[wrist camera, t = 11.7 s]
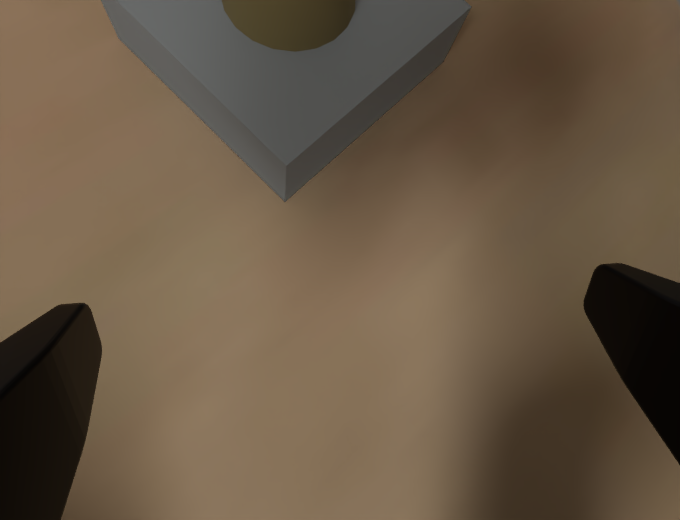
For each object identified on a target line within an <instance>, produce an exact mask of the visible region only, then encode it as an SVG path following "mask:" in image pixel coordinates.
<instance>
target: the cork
mask: <svg viewBox="0 0 680 520" xmlns="http://www.w3.org/2000/svg"><path fill="white" fill-rule="evenodd" d="M222 3H223V7H224V11H225V12H226V14H227V15H228V17H229V18H230V20H231V21H232V23H233V24H234V26H235V27H236V28H237V29H238V30H240V31H241V32H242V33H243V34H245V35H246V36H247V37H248V38H250V39H251V40H252V41H255V42H257V43H259V44H262V45H264V46H267V47H269V48H272V49H277V50H285V51H293V52H297V51H303V50H310V49H316V48H318V47H321V46H323V45H325V44H327V43H329V42H331V41H333V40H335V39H336V38H337V37H338V36H339V35H340V34H341V33H342V32H343V31H344V30H345V29H346V28H347V27H348V25H349V23H350V21H351V18H352V16H353V14H354V12H355V0H222Z"/></svg>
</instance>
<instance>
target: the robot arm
mask: <svg viewBox="0 0 680 520" xmlns="http://www.w3.org/2000/svg"><path fill="white" fill-rule="evenodd" d="M583 305H584V310H585V313H586V315H587V317H588V319H589V321H590V323H591V325H592V326H593V328H594V330H595V332H596V334H597V335H598V337H599V339H600V341H601V343H602V345H603V346H604V348H605V350H606V352H607V354H608V356H609V357H610V359H611V361H612V363H613V365H614V367H615V368H616V370H617V372H618V374H619V375H620V377H621V379H622V380H623V382H624V384H625V385H626V387H627V388H628V390H629V391H630V393H631V394H632V396H633V397H634V399H635V400H636V402H637V403H638V404H639V406H640V407H641V409H642V410H643V412H644V413H645V415H646V416H647V418H648V419H649V421H650V422H651V424H652V425H653V426H654V428H655V429H656V431H657V432H658V434H659V435H660V437H661V438H662V440H663V441H664V443H665V444H666V446H667V447H668V448H669V450H670V451H671V453H672V454H673V456H674V457H675V459H676V460H677V462H678V463H679V465H680V283H678V282H675V281H672V280H669V279H666V278H663V277H660V276H657V275H655V274H652V273H649V272H646V271H643V270H640V269H637V268H634V267H631V266H628V265H625V264H622V263H612V264H601V265H599V266H597V267H596V269H595V270H594V272H593V275H592V278H591V281H590V283H589V286H588V289H587V292H586V295H585V298H584V304H583ZM101 356H102V345H101V340H100V337H99V334H98V331H97V327H96V324H95V321H94V318H93V315H92V311H91V309H90V307H89V306H88V305H87V304H85V303H72V304H61V305H58V306H56V307H54V308H53V309H51V310H50V311H48V312H47V313H45V314H44V315H42V316H40V317H39V318H37V319H36V320H34V321H33V322H31V323H30V324H28V325H27V326H25V327H24V328H22V329H20V330H19V331H17V332H16V333H14V334H13V335H11V336H10V337H8V338H7V339H5V340H4V341H2V342H1V343H0V520H61V517H62V514H63V511H64V508H65V505H66V501H67V498H68V495H69V492H70V489H71V486H72V483H73V479H74V476H75V473H76V470H77V467H78V464H79V460H80V457H81V454H82V451H83V447H84V444H85V440H86V435H87V431H88V426H89V421H90V416H91V410H92V405H93V399H94V394H95V389H96V383H97V378H98V373H99V367H100V362H101Z"/></svg>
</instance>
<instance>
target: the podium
mask: <svg viewBox="0 0 680 520" xmlns="http://www.w3.org/2000/svg"><path fill="white" fill-rule="evenodd" d="M101 1H102V4H103V6H104V8H105V10H106V12H107V14H108V16H109V19H110V21H111V23H112V25H113V27H114V29H115V31H116V34H117V36H118V38H119V39H120V40H121V41H122V42H123V43H124V44H125V45H126V46H127V47H128V48H129V49H130V50H131V51H132V52H133V53H134V54H135V55H136V56H137V57H138V58H139V59H140V60H141V61H142V62H143V63H144V64H145V65H146V66H147V67H148V68H149V69H150V70H152V71H153V72H154V73H155V74H156V75H157V76H158V77H159V78H160V79H161V80H162V81H163V82H164V83H165V84H166V85H167V86H168V87H169V88H170V89H171V90H172V91H173V92H174V93H175V94H176V95H177V96H178V97H179V98H180V99H181V100H182V101H183V102H184V103H185V104H186V105H187V106H188V107H189V108H190V109H191V110H192V111H193V112H194V113H195V114H196V115H197V116H198V117H199V118H200V119H201V120H202V121H203V122H204V123H205V124H206V125H207V126H208V127H209V128H210V129H211V130H212V131H214V132H215V133H216V134H217V135H218V136H219V137H220V138H221V139H222V140H223V141H224V142H225V143H226V144H227V145H228V146H229V147H230V148H231V149H232V150H233V151H234V152H235V153H236V154H237V155H238V156H239V157H240V158H241V159H242V160H243V161H244V162H245V163H246V164H247V165H248V166H249V167H250V168H251V169H252V170H253V171H254V172H255V173H256V174H257V175H258V176H259V177H260V178H261V179H262V180H263V181H264V182H265V183H266V184H267V185H268V186H269V187H270V188H271V189H272V190H273V191H274V192H276V193H277V194H278V195H279V196H280V197H281V198H282V199H283V200H284V201H286V200H288V199H289V198H290V197H291V196H292V195H293V194H294V193H296V192H297V191H298V190H299V189H300V188H301V187H302V186H303V185H305V184H306V183H307V182H308V181H309V180H310V179H311V178H312V177H314V176H315V175H316V174H317V173H318V172H319V171H320V170H321V169H323V168H324V167H325V166H326V165H327V164H328V163H329V162H331V161H332V160H333V159H334V158H335V157H336V156H337V155H338V154H340V153H341V152H342V151H343V150H344V149H345V148H346V147H347V146H349V145H350V144H351V143H352V142H353V141H354V140H355V139H357V138H358V137H359V136H360V135H361V134H362V133H363V132H364V131H366V130H367V129H368V128H369V127H370V126H371V125H372V124H373V123H375V122H376V121H377V120H378V119H379V118H380V117H381V116H382V115H384V114H385V113H386V112H387V111H388V110H389V109H390V108H392V107H393V106H394V105H395V104H396V103H397V102H398V101H399V100H401V99H402V98H403V97H404V96H405V95H406V94H407V93H408V92H410V91H411V90H412V89H413V88H414V87H415V86H416V85H418V84H419V83H420V82H421V81H422V80H423V79H424V78H425V77H427V76H428V75H429V74H430V73H431V72H432V71H433V70H434V69H436V68H437V67H438V66H439V65H440V64H441V63H442V62H443V61H444V59H445V57H446V55H447V53H448V52H449V50H450V48H451V46H452V44H453V42H454V40H455V38H456V36H457V34H458V32H459V30H460V28H461V26H462V24H463V22H464V20H465V19H466V17H467V15H468V13H469V11H470V9H471V6H470V5H469V4H468V3H467V2H466V1H465V0H355V12H354V14H353V16H352V18H351V21H350V23H349V25H348V27H347V28H346V29H345V30H344V31H343V32H342V33H341V34H340V35H339V36H338V37H337V38H336V39H335V40H333V41H331V42H329V43H327V44H325V45H323V46H321V47H318V48H316V49H310V50H303V51H297V52H293V51H285V50H277V49H272V48H269V47H267V46H264V45H262V44H259V43H257V42H255V41H252V40H251V39H250V38H248V37H247V36H246V35H245V34H243V33H242V32H241V31H240V30H238V29H237V28H236V27H235V26H234V24H233V23H232V21H231V20H230V18H229V17H228V15H227V14H226V12H225V11H224V7H223V3H222V0H101Z"/></svg>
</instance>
